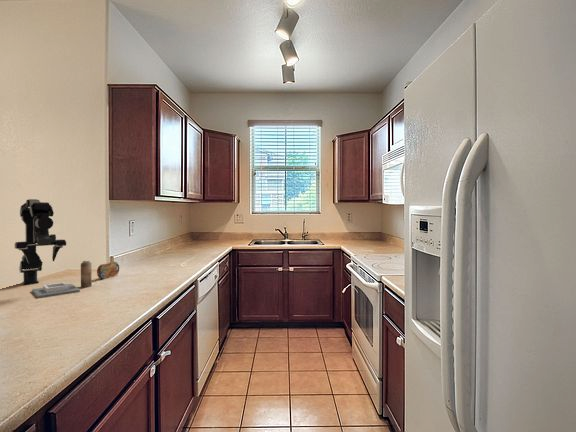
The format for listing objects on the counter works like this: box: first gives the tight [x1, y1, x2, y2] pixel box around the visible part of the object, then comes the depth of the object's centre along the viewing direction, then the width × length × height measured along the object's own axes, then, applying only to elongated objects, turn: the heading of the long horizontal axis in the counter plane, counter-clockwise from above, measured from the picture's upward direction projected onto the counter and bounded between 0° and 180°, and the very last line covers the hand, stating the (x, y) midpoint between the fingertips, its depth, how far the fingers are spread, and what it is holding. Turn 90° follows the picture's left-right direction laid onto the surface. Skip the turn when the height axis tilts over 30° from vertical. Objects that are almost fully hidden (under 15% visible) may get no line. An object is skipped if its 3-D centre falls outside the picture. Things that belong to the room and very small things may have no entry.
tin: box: [96, 261, 120, 280], centre depth 188 cm, size 15×3×8 cm, turn 168°
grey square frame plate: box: [31, 281, 81, 299], centre depth 155 cm, size 16×16×3 cm
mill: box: [80, 260, 93, 289], centre depth 166 cm, size 5×5×13 cm
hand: (41, 262), depth 152 cm, fingers open, 9 cm apart
